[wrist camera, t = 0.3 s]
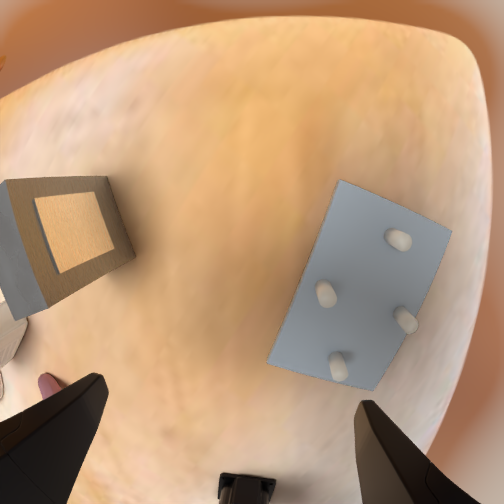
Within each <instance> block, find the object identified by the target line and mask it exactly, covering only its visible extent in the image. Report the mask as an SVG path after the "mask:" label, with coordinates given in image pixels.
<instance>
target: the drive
mask: <svg viewBox="0 0 504 504" xmlns="http://www.w3.org/2000/svg"><path fill="white" fill-rule="evenodd" d="M135 257H136V256H135V253H134V251H133V248H132V246H131V243H130V241H129V238H128V235H127V233H126V230H125V228H124V225H123V222H122V220H121V217H120V214H119V211H118V209H117V206H116V203H115V200H114V197H113V194H112V191H111V188H110V185H109V182H108V179H107V176H72V177H42V178H23V179H7V180H4V181H3V182H2V183H1V184H0V288H1V290H2V293H3V295H4V297H5V300H6V302H7V305H8V307H9V309H10V312H11V314H12V316H13V318H14V320H15V321H17V320H20V319H22V318H25V317H27V316H30V315H32V314H35V313H37V312H40V311H42V310H45V309H48V308H50V307H51V306H53V305H54V304H56V303H58V302H59V301H61V300H63V299H64V298H66V297H68V296H69V295H71V294H73V293H74V292H76V291H78V290H79V289H81V288H83V287H84V286H86V285H88V284H90V283H91V282H93V281H95V280H96V279H98V278H100V277H102V276H103V275H105V274H107V273H109V272H110V271H112V270H114V269H116V268H117V267H119V266H121V265H123V264H125V263H126V262H128V261H130V260H132V259H134V258H135Z"/></svg>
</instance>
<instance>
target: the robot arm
mask: <svg viewBox="0 0 504 504" xmlns="http://www.w3.org/2000/svg"><path fill="white" fill-rule="evenodd" d="M108 395H109V391H108V387H107V385H106V382H105V379H104V377H103V375H101V374H98V373H91V374H89V375H87V376H85V377H83V378H82V379H80V380H78V381H76V382H75V383H73V384H71V385H69V386H67V387H66V388H64V389H62V390H60V391H58V392H57V393H55V394H53V395H51V396H49V397H48V398H46V399H44V400H42V401H40V402H39V403H37V404H35V405H33V406H31V407H29V408H28V409H26V410H24V411H23V412H20V413H18V414H16V415H14V416H12V417H10V418H8V419H6V420H4V421H2V422H0V504H67V501H68V498H69V496H70V493H71V491H72V488H73V486H74V483H75V481H76V478H77V476H78V473H79V471H80V468H81V466H82V464H83V461H84V459H85V457H86V454H87V452H88V450H89V447H90V445H91V443H92V440H93V438H94V436H95V434H96V431H97V429H98V426H99V423H100V420H101V417H102V414H103V411H104V407H105V404H106V401H107V398H108ZM354 430H355V452H356V463H357V469H358V475H359V482H360V488H361V495H362V502H363V504H481V503H479V502H477V501H476V500H475V499H473V498H472V497H471V496H470V495H468V494H467V493H466V492H464V491H463V490H462V489H461V488H459V487H458V486H457V485H456V484H454V483H453V482H452V481H451V480H450V479H449V478H447V477H446V476H445V475H444V474H443V473H442V472H441V471H440V470H439V469H438V468H437V467H436V466H435V465H434V464H433V463H432V462H431V461H430V460H429V459H428V458H427V457H426V456H425V455H424V454H423V453H422V452H421V450H420V449H419V448H418V447H417V446H416V445H415V444H414V443H413V442H412V441H411V440H410V439H409V438H408V437H407V436H406V435H405V434H404V433H403V432H402V431H401V429H400V428H399V427H398V426H397V425H396V424H395V423H394V422H393V421H392V420H391V419H390V418H389V417H388V416H387V415H386V414H385V413H384V412H383V410H382V409H381V408H380V407H379V406H378V405H377V404H376V403H375V402H374V401H373V400H362V401H361V402H360V403H359V406H358V408H357V411H356V414H355V417H354ZM430 462H431V463H430ZM275 485H276V481H275V480H272V479H261V478H252V477H244V476H237V475H230V474H220V478H219V488H218V499H219V504H269V501H270V499H271V496H272V493H273V491H274V488H275Z"/></svg>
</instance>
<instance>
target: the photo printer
mask: <svg viewBox="0 0 504 504" xmlns="http://www.w3.org/2000/svg"><path fill="white" fill-rule="evenodd" d="M26 319H27V317H25V318H22V319H20V320H17V321H15V320H14V318H13V316H12V314H11V312H10V309H9V307H8V305H7V302H6V300H5V301H3V302H1V303H0V368H2V367H3V366H4V365H6V364H7V363H8V362H9V361H10V360H11V359H12V358H13V356H14V355H15V353H16V350H17V348H18V346H19V344H20V342H21V340H22V338H23V336H24V333H25V330H26V328H27V324H28V322H27V320H26Z"/></svg>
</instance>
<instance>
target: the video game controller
mask: <svg viewBox="0 0 504 504" xmlns="http://www.w3.org/2000/svg"><path fill="white" fill-rule="evenodd" d="M38 385H39V388H40V391H41V394H42V398H43V400H44V399H46V398H48V397H49V396H51V395H53V394H55V393H57V392H58V391H60V390H61V388H60V386H59V384H58V383H57V381H56V380H55V379H54V378H53V377H52V376H51V375H49V374H47V373H46V374H42V375H41V376H40V377H39V378H38Z"/></svg>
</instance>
